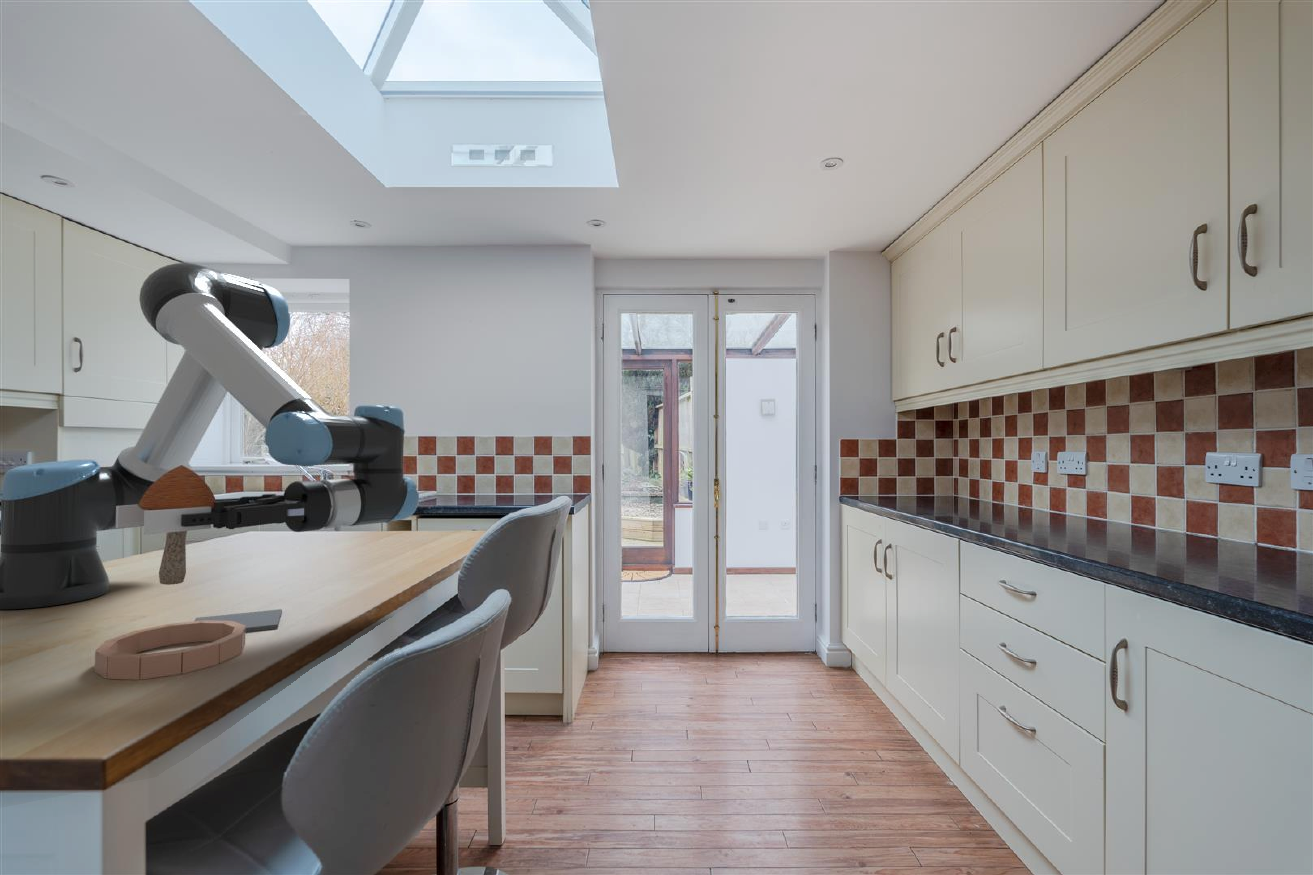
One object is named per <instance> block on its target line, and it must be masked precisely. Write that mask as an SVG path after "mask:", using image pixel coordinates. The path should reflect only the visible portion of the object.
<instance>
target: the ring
mask: <svg viewBox="0 0 1313 875" xmlns="http://www.w3.org/2000/svg"><path fill="white" fill-rule="evenodd" d="M246 633H247V632H246V626H245V625H243V624H240V623H237V622H234V621H217V620H205V621H204V620H202V621H194V620H193V621H185V622H183V621H182V622H175V623H167V624H162V625H158V626H153V627H147V628H143V629H138V630H134V631H131V632H127V633H124V634H121V635H118V636H116V637H112V638H110V639H107V640H105V641H104V642H103V643H102V644H100V646H98V647H97V648H96V649H95V651H94V673H96V674H98V675H99V676H101V677H103V678H105V679H107V680H146V679H153V678H154V679H155V678H161V677H167V676H175V675H176V676H177V675H181V674H185V673H186V674H187V673H190V672H194V671H197V670H201V669H205V668H209V667H212V666H216V665H217V666H218V665H220V664H223V663H224V662H226V661H228V660H230V659H233V658H234V657H236V656H238V655H241V654H242V653H243V652H244V649H245V645H246ZM188 642H189V643H196V642H207V643H203V644H201V645H200V644H199V645H196V646H191V647H187V648H183V649H176V650H169V651H168V650H167V651H160V652H152V653H140V652H144V651H148V650H153V649H156V648H161V646H162V647H166V646H170V645H178V644H189V643H188ZM219 663H220V664H219Z"/></svg>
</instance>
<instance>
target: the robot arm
mask: <svg viewBox="0 0 1313 875" xmlns="http://www.w3.org/2000/svg"><path fill="white" fill-rule="evenodd" d="M139 291H140V292H139V297H138V298H139V305H140V309H141V312H142V314H143V316H144V318H145V319H146V321H147V323H149V325H150V326H151V327H152V329H154V331H155V332H156V333H157V334H159V335H160V337H161V338H162V339H164V340H165V341H167V342H168V343H172V344H174V345H179V346H181V347H182V348H183V349H184V350H185V351H184V353H183V355H182V357H181V359H180V361H179V362H178V365H177V367H176V368H175V371H174V372H173V373H172V375H171V378H170V380H168V384H167V386H165V389H164V391H163V393H162V395H161V396H160V399H159V401H158V403H157V405H156V406H155V408H154V410H153V411H152V414H151V416H150V418H149V419H148V421H147V423H146V424H145V427H144V429H143V430H142V433H141V434H140V436H139V438H138V440H137V442H136V444H135V445H134V446H130V447H126V448H124V449H122V451H121V452H119V454H118V456H117V458H116V460H115V462H114V464H113V465H112V466H100V465H99V462H98V461H97V460H95V459H71V460H64V461H63V460H57V461H46V462H37V463H32V464H26V465H19V466H15V467H13V468H11V469H9V470H7V471H6V472H5V473H4V475H3V478H2V484H1V488H0V490H1V492H0V610H19V609H20V610H21V609H23V610H24V609H34V608H43V607H51V606H58V605H63V604H64V605H65V604H72V603H77V602H81V601H85V600H90V599H93V598H98V597H100V596H102V595H105V594H108V592H109V591H110V579H109V576H108V574H107V571H106V568H105V566H104V564H103V561H102V559H101V557H100V554H99V552H98V548H97V536H98V532H101V531H110V530H119V529H127V528H128V529H129V528H138V527H143V535H145V536H147V535H156V534H157V535H158V534H167V533H169V532H179V531H187V532H189V531H198V530H208V529H211V528H212V527H213V528H215V529H223V528H225V529H228V530H235V529H239V528H247V527H253V526H255V527H257V526H264V525H270V524H271V525H272V524H277V525H280V524H285V525H286V527H287V528H289V529H290V531H292V532H294V533H303V532H312V531H313V532H314V531H318V530H321V529H323V530H326V529H327V530H328V529H333V530H334V531H335V532H340V531H341V530H342V527H353V526H355V527H356V526H365V525H372V524H374V525H375V524H383V523H384V524H387V523H391V522H395V521H399V520H405V519H408V518H409V517H411V516H413V515H414V513H415V512H416V511H417V508H418V506H419V500H420V496H419V495H420V494H419V493H420V492H418V490H417V484H416V482H415V481H414V480H413V479H412V478H410V477H408V476H404V474H405V473H404V471H403V470H404V442H405V432H406V431H405V428H404V424H405V423H404V413H403V410H402V409H401V408H399V407H398V406H391V405H390V406H389V405H376V404H375V405H370V404H369V405H368V404H367V405H365V404H364V405H362V404H361V405H358V406H356V407H355V409H354V413H353V415H343V414H340V415H339V414H331V413H329V412H327V411H326V409H324V408H323V407H322V406H321V405H320V404H319V403H317V402H316V401H315V400H314V399H313V398H312V397H311V396H310V395H309V394H308V393H306V391H304V390H303V388H302V387H301V386H299V385H298V384H297V383H296V382H295V381H294V380H293V379H292V378H291V377H290V376H289V375H287V373H286V372H285V371H283V370H282V369H281V367H279V366H278V365H277V364H276V363H275V362H274V361H273V360H272V359H271V358H270V357H269V356H267V354H265V353H264V352H263V351H262V350H263V348H264V349H271V348H274V347H277V346H280V345H281V344H282V343H284V341H285V340H286V338H287V336H288V334H289V331H290V328H291V327H290V326H291V314H290V312H289V305H288V303H287V301H286V299H285V297H284V296H283V295H282V294H281V292H279V291H278V289H276V288H274V287H272V286H270V285H267V284H264V283H262V282H259V281H258V280H255V279H252V278H251V279H250V278H249V279H248V278H245V277H241V276H238V275H234V274H231V273H227V272H224V271H221V270H220V271H219V270H216V269H213V268H210V267H206V266H203V265H199V264H196V263H185V262H181V263H173V264H172V263H171V264H167V265H165V266H162V267H159V268H158V269H156V270H155V271H153V272H151V273H150V274H149V275H148V277H147V278H146V279H145V280H144V281H143V283H142V286H141V288H140V290H139ZM227 393H229V394H230V395H231V396H232V397H233V399H235V400H236V401H237V402H238V403H239V404H240V405H241V406H242V407H243V408H244V409H245V410H247V411H248V413H249V414H250V415H251V416H252V417H253V418H255V420H257V421H258V423H259V424H261V425H262V427H264V429H265V433H264V441H265V442H264V444H265V445H266V446H267V449H268V454H269V455H270V456H271V458H272V459H273V460H275V461H276V462H277V463H279V464H282V465H285V466H299V467H314V466H329V465H332V466H333V465H351V464H353V465H352V467H353V468H352V472H353V478H336V479H335V478H334V479H331V478H330V479H320V480H316V479H315V480H296V481H293V482H290V484H288V486H287V487H286V489H285V490H284V491H283V492H284V493H283V494H276V493H263V494H262V495H249V496H248V495H247V496H245V495H244V496H241V497H233V498H232V497H231V498H215V499H216V502H214V508H212V509H211V507H209V506H208V507H194V508H180V509H166V510H151V511H149V510H143V509H141V508H140V507H139V506H138V504H139V502H140V500H141V499H142V497H143V495H144V494H145V492H146V491H147V490H148V488H149V487H150V486H151V485H152V484H153V483H154V482H155V481H156V480H157V479H159V478H160V477H161V476H162V475H164V474H165V473H167V472H168V471H170V470H172V469H174V468H176V467H179V466H181V465H183V466H185V467H186V468H188V469H190V470H192V471H193V472H194V470H193V467H192V465H191V464H190V462H191V460H192V457H193V455H194V454H195V452H196V450H197V448H198V446H199V444H200V443H201V441H202V439H203V437H204V436H205V434H206V432H207V430H208V429H209V427H210V425H211V423H212V421H213V420H214V417H215V415H216V414H217V412H218V409H220V406H221V404H222V402H223V401H224V400H225V397H226V395H227Z"/></svg>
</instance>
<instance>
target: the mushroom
mask: <svg viewBox="0 0 1313 875" xmlns="http://www.w3.org/2000/svg"><path fill="white" fill-rule="evenodd" d="M216 499H217V498H216V497H215V494H214V493H213V491H212V490H211V488H210V486H209V485H208V484H207V482H206V481H205V480H204V479H203V478H202V477H201V476H199V475H198V473H197V472H195V471H194V470H193V471H192V470H190V469H188V468H186V467H185V466H183V465H181V466H179V467H176V468H174V469H172V470H170V471H168V472H167V473H165V474H164V475H162V476H161V477H160V478H159V479H157V480H156V481H155V482H154V483H153V484H152V485H151V486H150V487H149V488H148V490H147V491H146V492H145V494H144V495H143V497H142V499H141V500H140V502H139V504H138V506H139V507H140V508H141V509H143V510H149V511H151V510H166V509H180V508H194V507H208V506H209V507H211V509H212V508H214V502H216ZM187 533H188V531H179V532H169V533H166V540H165V544H164V548H163V552H162V558H161V562H160V566H159V572H158V578H159V579H158V580H159V583H160V585H174V586H175V585H179V584H182V583H184V580H185V578H186V573H187V557H186V553H187V552H186V544H187V543H186V540H187Z"/></svg>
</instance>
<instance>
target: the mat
mask: <svg viewBox="0 0 1313 875" xmlns="http://www.w3.org/2000/svg"><path fill="white" fill-rule="evenodd" d="M282 614H283V609H282V608H280V609H269V610H260V611H259V610H258V611H252V612H249V611H248V612H239V613H232V614H231V613H230V614H222V615H221V614H219V615H210V616H200V617H199V616H198V617H196V618H195V619H194V620H193V621H202V620H204V621H205V620H217V621H234V622H237V623H240V624H243V625H245V626H246V633H249V632H258V631H266V630H275V629H279V625H280V622H281V618H282Z"/></svg>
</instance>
